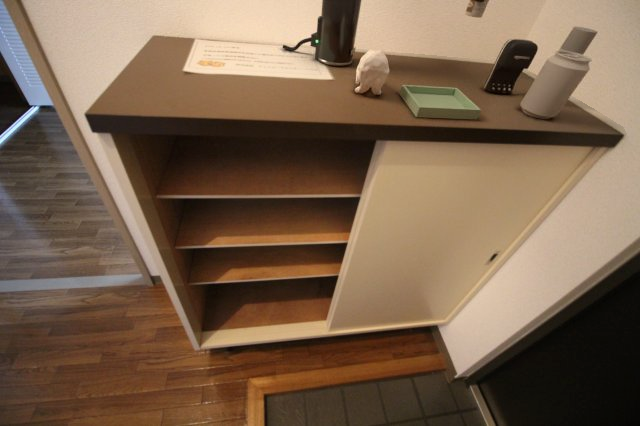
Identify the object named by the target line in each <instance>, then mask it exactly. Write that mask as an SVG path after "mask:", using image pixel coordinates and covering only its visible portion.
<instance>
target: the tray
mask: <svg viewBox="0 0 640 426" xmlns="http://www.w3.org/2000/svg"><path fill="white" fill-rule="evenodd" d="M399 96H400V98H401V99H402V100H403V102H404V103H405V104H406V106H407V107H408V109H409V110H410V111H411V112H412V114H413V115H414V116H415V118H423V119H424V118H426V119H450V120H451V119H453V120H471V121H472V120H478V119H479V118H478V117H479V116H480V114H481V112H482V109H481V108H480V107H479V106H478V105H477V104H476V103H474V102H473V101H472V100H471V99H470V98H469V97H468V96H467V95H466V94H464V93H463V92H462V91H461V90H460V89H459V88H458V87H449V86H447V87H446V86H433V85H432V86H431V85H417V84H416V85H415V84H401V85H400V89H399Z"/></svg>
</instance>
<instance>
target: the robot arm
mask: <svg viewBox="0 0 640 426" xmlns="http://www.w3.org/2000/svg"><path fill="white" fill-rule="evenodd" d="M475 1H477V2H484V0H475ZM361 6H362V0H322V1H321V14H320V15H319V16H318V17H317V24H316V32H313V33H311V35H310V37H307V38H304V39H301V40H300V41H298V42H297V44H296V45H294V46H288V45H286V44H282V49H284V50H286V51H290V52H295V51H297V50H298V49H299V48H300V47H301V46H302V45H304V44H306V43H310V47H312V48H315V50H314V60H316V61H319V62H320V63H322V64H325V65H328V66H333V67H346V66H350V65H352V63H353V57H354V53H356V49H357V48H356V46H355V44H356V37H357V32H358V25H359V18H360V13H361V12H360V11H361Z"/></svg>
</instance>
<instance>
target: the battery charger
mask: <svg viewBox="0 0 640 426" xmlns="http://www.w3.org/2000/svg"><path fill="white" fill-rule="evenodd" d="M538 46H539V45H538V44H537V43H535V42H534V41H532V40H530V39H525V38H510V39H508V40H507V41H505V42H504V44H503V45H502V47H501V49H500V50H499V53H498V55H497V56H496V58H495V62H494V63H493V66H492V68H491V70H490V72H489V75H488V77H487V79H486V81H485V83H484V84H483V89H484V90H485V91H487V92H488V93H492V94H501V95H511V94H512V92H513V91H514V88H515V85H516V83H517V81H518V79H519V77H520V76H521V74H522V72H523V71H524V70H528V69H529V68H530V66H531V64H532V62H533V60H534V59H535V57H536V55H537V53H538V50H539V47H538Z"/></svg>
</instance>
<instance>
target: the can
mask: <svg viewBox="0 0 640 426" xmlns="http://www.w3.org/2000/svg"><path fill="white" fill-rule="evenodd" d="M592 61H593V60H592V58H591V57H589V56H587V55H584V54H583V55H582V54H578V53H574V52H569V51H561V50H560V51H559V50H556V51H555V52H554V55H552V56H550V57H547V59H546V60H545V62H544V63H543V65H542V67H541V68H540V70H539V72H538V73H537V75H536V77H535V79H534V80H533V81H532V84H531V85H530V87H529V89H528V90H527V91H526V93H525V95H524V96H523V99H522V100H521V102H520V108H521V110H522V112H523V113H524V114H526V115H528V116H529V117H533V118H536V119H540V120H541V119H542V120H548V119H550V118H551V119H552V118H554V117H557V116H558V114H559V113H560V112H561V110H562V109H563V107H564V106H565V105H566V103H567V102H568V100H569V99H570V97H571V96H572V94H573V93H574V92H575V90H576V89H577V88H578V86H579V85H580V84H581V82H582V81H583V79H584V78H585V77H586V75H587V74H588V73H589V71H590V62H592Z"/></svg>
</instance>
